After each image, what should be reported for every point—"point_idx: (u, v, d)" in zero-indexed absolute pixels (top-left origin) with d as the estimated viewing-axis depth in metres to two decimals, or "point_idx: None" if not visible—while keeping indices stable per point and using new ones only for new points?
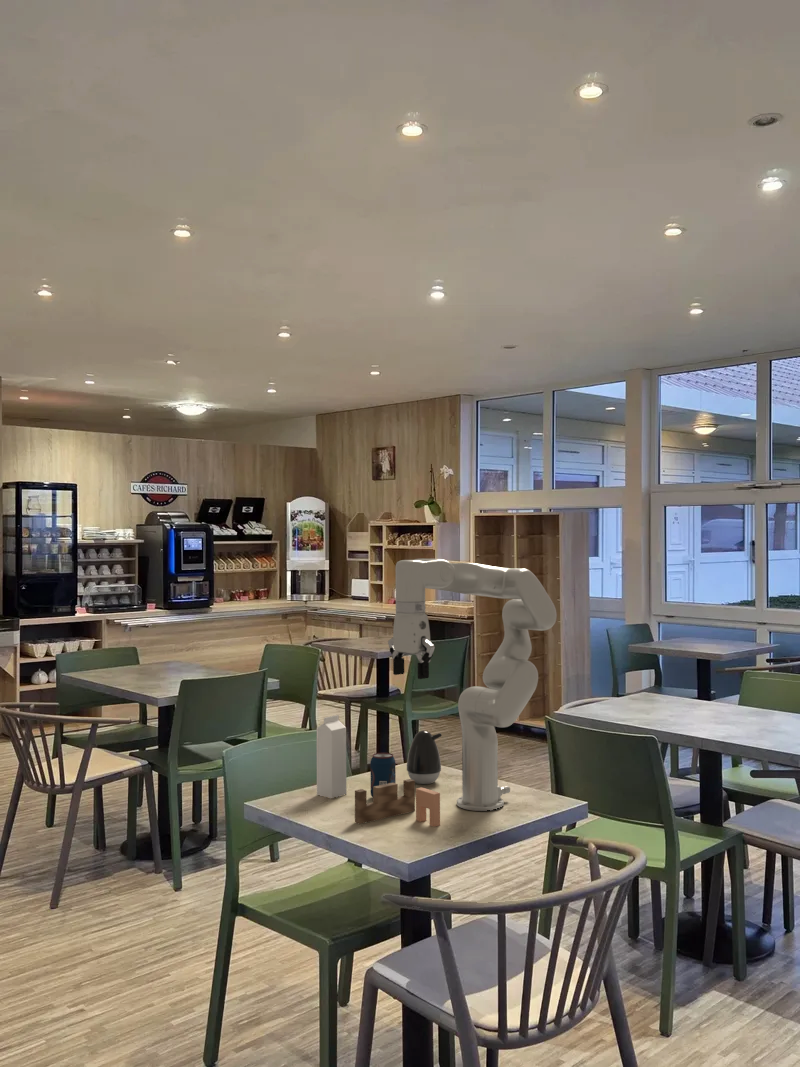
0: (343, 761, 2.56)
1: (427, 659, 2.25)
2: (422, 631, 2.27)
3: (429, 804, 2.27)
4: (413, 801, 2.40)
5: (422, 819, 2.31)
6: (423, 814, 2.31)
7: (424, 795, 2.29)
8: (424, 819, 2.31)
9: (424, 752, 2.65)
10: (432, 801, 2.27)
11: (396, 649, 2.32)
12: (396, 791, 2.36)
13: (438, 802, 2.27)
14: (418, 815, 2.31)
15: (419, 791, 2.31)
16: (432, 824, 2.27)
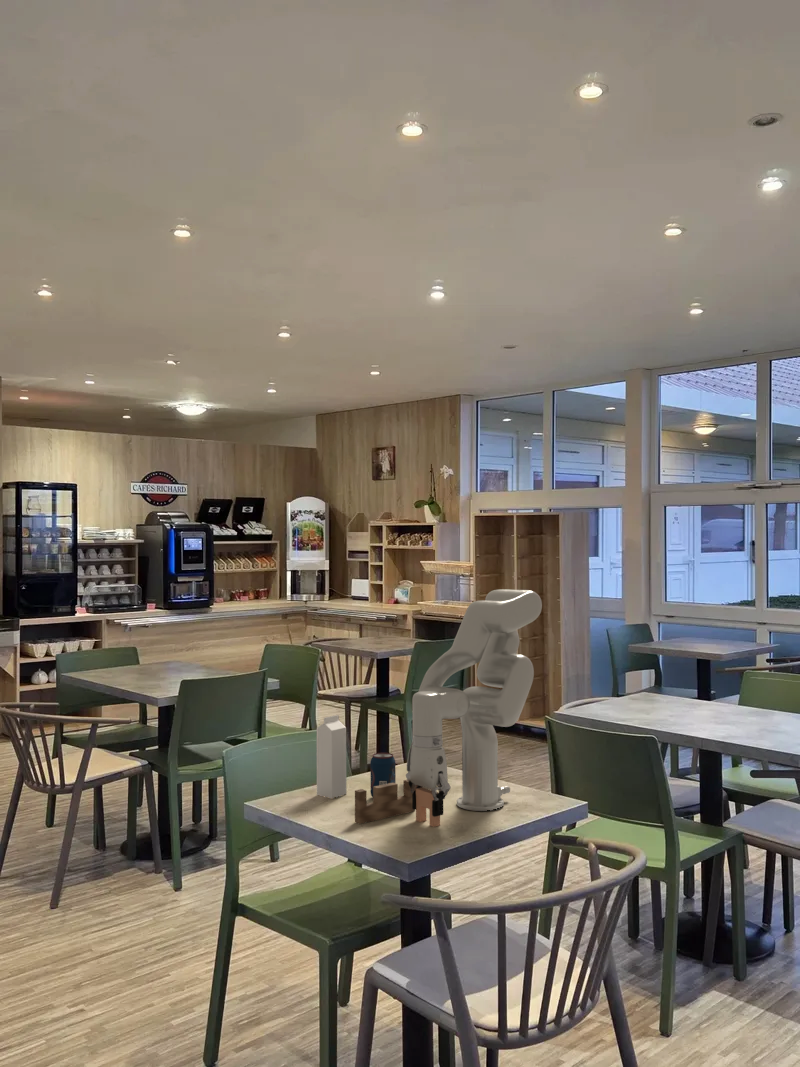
0: (343, 761, 2.56)
1: (442, 797, 2.25)
2: (439, 766, 2.26)
3: (429, 804, 2.27)
4: None
5: (422, 819, 2.31)
6: (423, 814, 2.31)
7: (424, 795, 2.29)
8: (424, 819, 2.31)
9: None
10: None
11: (413, 781, 2.31)
12: (396, 791, 2.36)
13: None
14: (418, 815, 2.31)
15: (419, 791, 2.30)
16: (432, 824, 2.26)
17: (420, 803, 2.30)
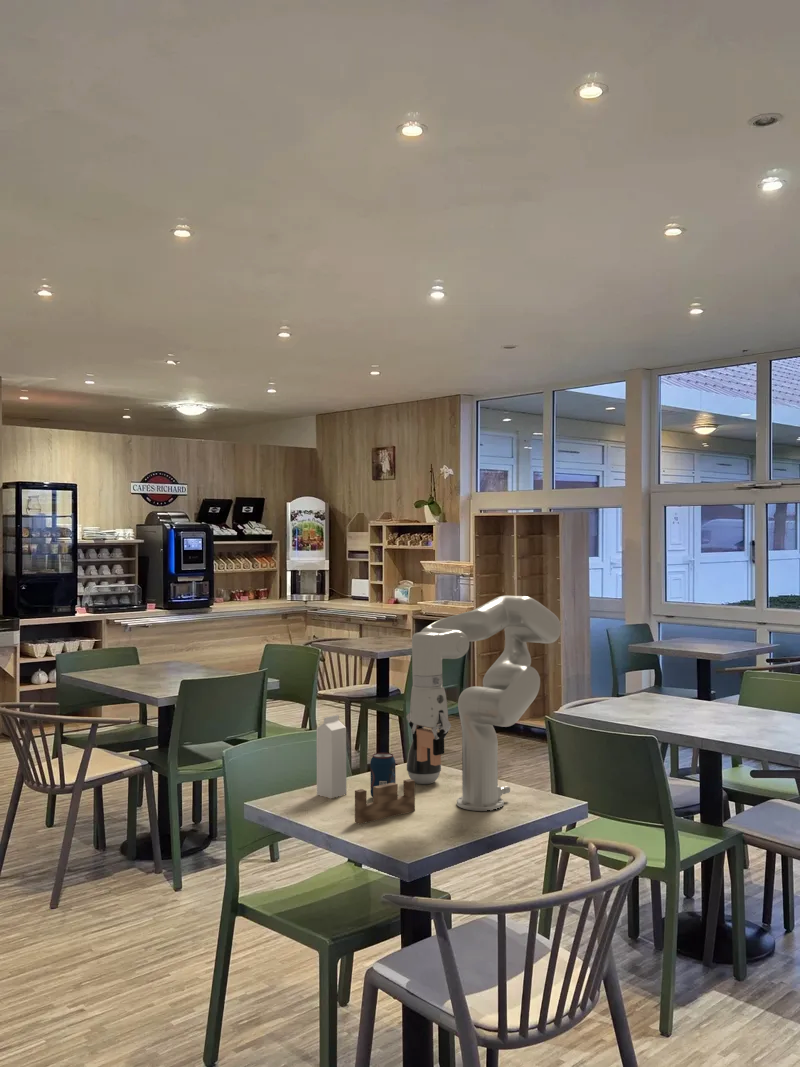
0: (343, 761, 2.56)
1: (442, 736, 2.26)
2: (440, 705, 2.26)
3: (430, 743, 2.28)
4: (413, 801, 2.40)
5: (423, 759, 2.31)
6: (424, 754, 2.31)
7: (425, 735, 2.29)
8: (425, 760, 2.32)
9: None
10: None
11: (413, 721, 2.31)
12: (396, 791, 2.36)
13: None
14: (419, 755, 2.31)
15: (420, 731, 2.31)
16: (433, 763, 2.27)
17: (421, 743, 2.31)
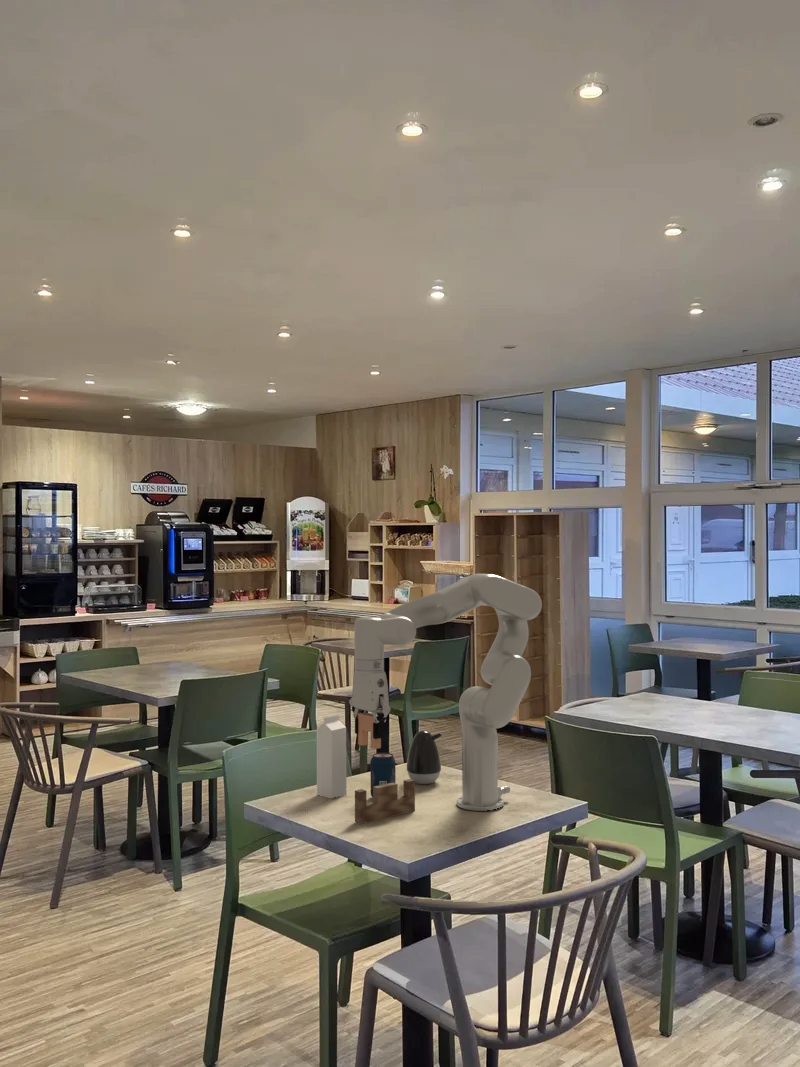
0: (343, 761, 2.56)
1: (382, 719, 2.28)
2: (380, 689, 2.28)
3: (370, 727, 2.30)
4: (413, 801, 2.40)
5: (364, 743, 2.33)
6: (365, 738, 2.33)
7: (365, 718, 2.32)
8: (366, 743, 2.34)
9: (424, 752, 2.65)
10: None
11: (355, 706, 2.33)
12: (396, 791, 2.36)
13: None
14: (360, 739, 2.33)
15: (361, 715, 2.33)
16: (373, 746, 2.29)
17: (362, 727, 2.33)
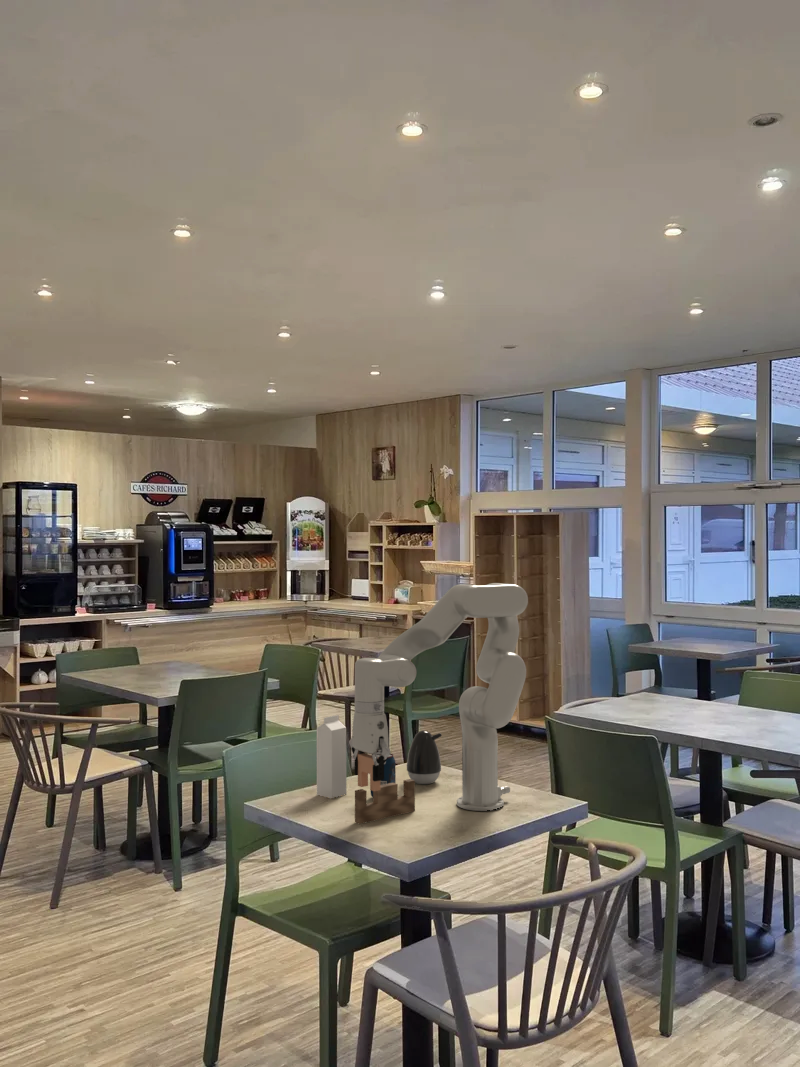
0: (343, 761, 2.56)
1: (382, 762, 2.27)
2: (380, 731, 2.28)
3: (370, 769, 2.30)
4: (413, 801, 2.40)
5: (364, 785, 2.33)
6: (364, 779, 2.33)
7: (365, 760, 2.31)
8: (365, 785, 2.33)
9: (424, 752, 2.65)
10: (372, 766, 2.29)
11: (355, 747, 2.33)
12: (396, 791, 2.36)
13: None
14: (360, 780, 2.33)
15: (361, 757, 2.33)
16: (372, 789, 2.29)
17: (361, 768, 2.33)
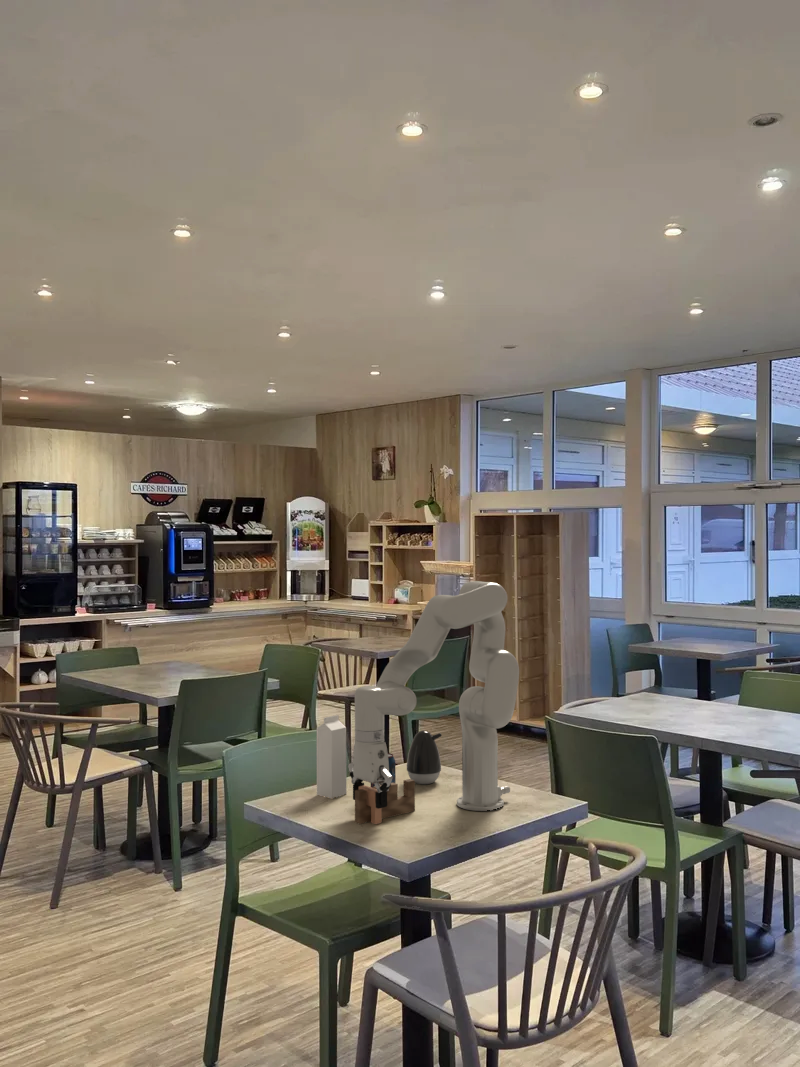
0: (343, 761, 2.56)
1: (385, 789, 2.27)
2: (380, 760, 2.28)
3: (371, 801, 2.30)
4: (413, 801, 2.40)
5: None
6: None
7: None
8: None
9: (424, 752, 2.65)
10: (373, 799, 2.29)
11: (355, 775, 2.33)
12: (396, 791, 2.36)
13: None
14: None
15: None
16: (373, 821, 2.29)
17: None
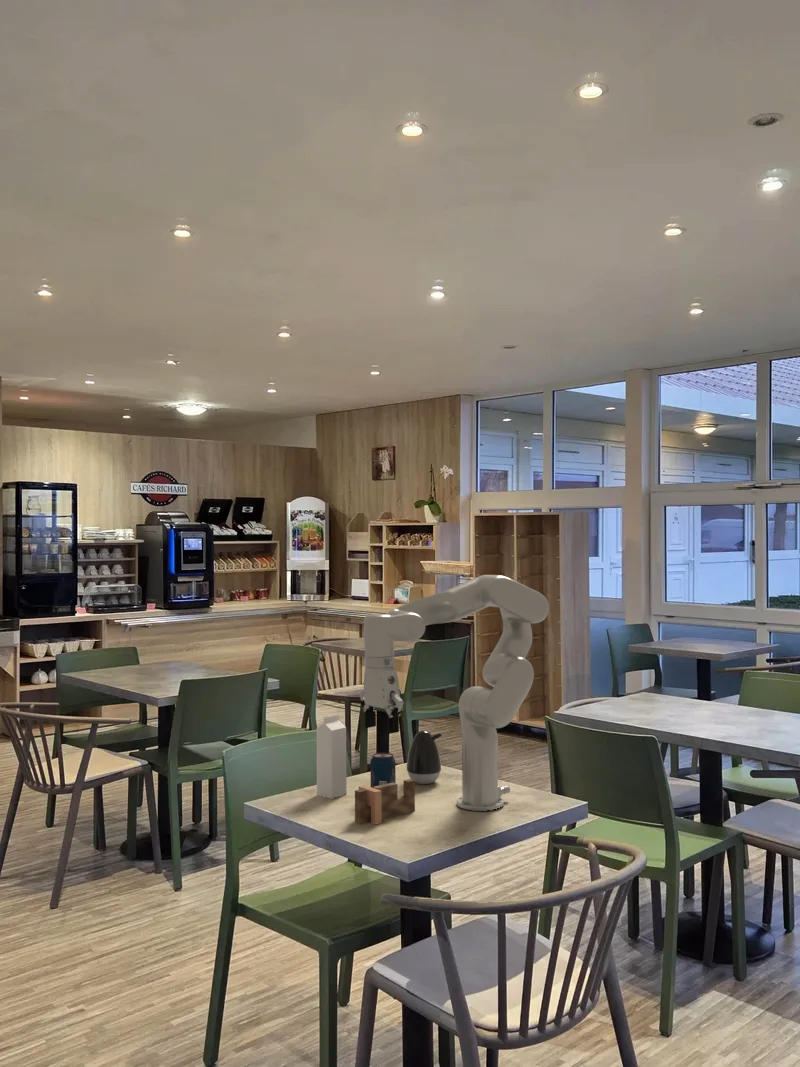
0: (343, 761, 2.56)
1: (396, 714, 2.27)
2: (391, 686, 2.28)
3: (371, 801, 2.30)
4: (413, 801, 2.40)
5: None
6: None
7: None
8: None
9: (424, 752, 2.65)
10: (373, 799, 2.29)
11: (367, 703, 2.34)
12: (396, 791, 2.36)
13: (379, 800, 2.29)
14: None
15: None
16: (373, 821, 2.29)
17: None
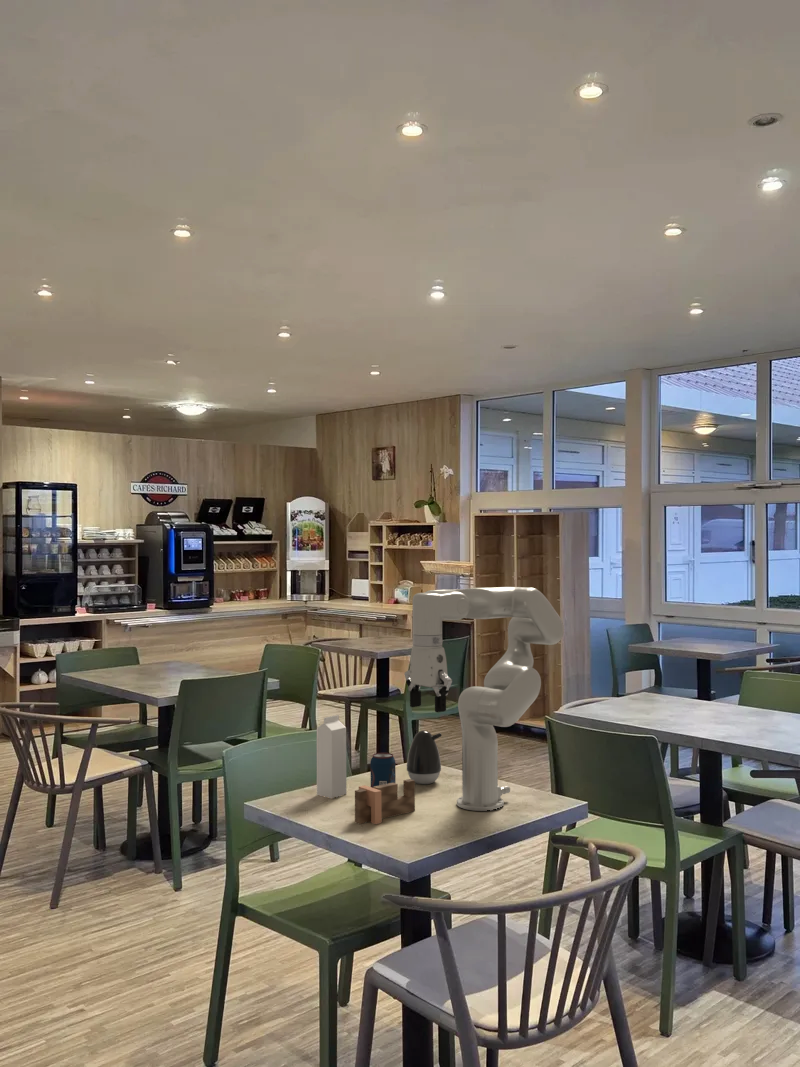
0: (343, 761, 2.56)
1: (444, 693, 2.26)
2: (439, 664, 2.27)
3: (371, 801, 2.30)
4: (413, 801, 2.40)
5: None
6: None
7: None
8: None
9: (424, 752, 2.65)
10: (373, 799, 2.29)
11: (413, 682, 2.33)
12: (396, 791, 2.36)
13: (379, 800, 2.29)
14: None
15: None
16: (373, 821, 2.29)
17: None
